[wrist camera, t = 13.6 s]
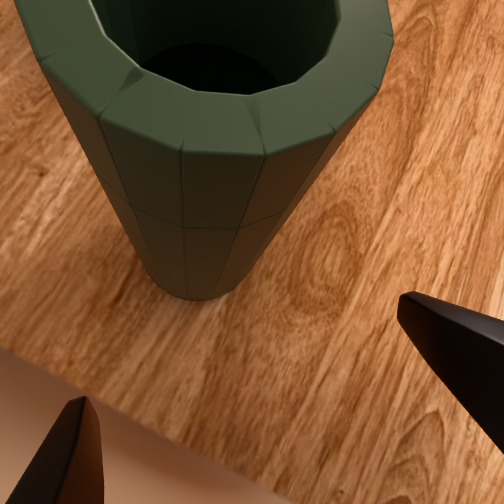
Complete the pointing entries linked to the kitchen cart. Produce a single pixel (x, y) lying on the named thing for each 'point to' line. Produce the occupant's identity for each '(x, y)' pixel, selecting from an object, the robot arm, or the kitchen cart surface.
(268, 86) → the hollow cylinder
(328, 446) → the kitchen cart surface
